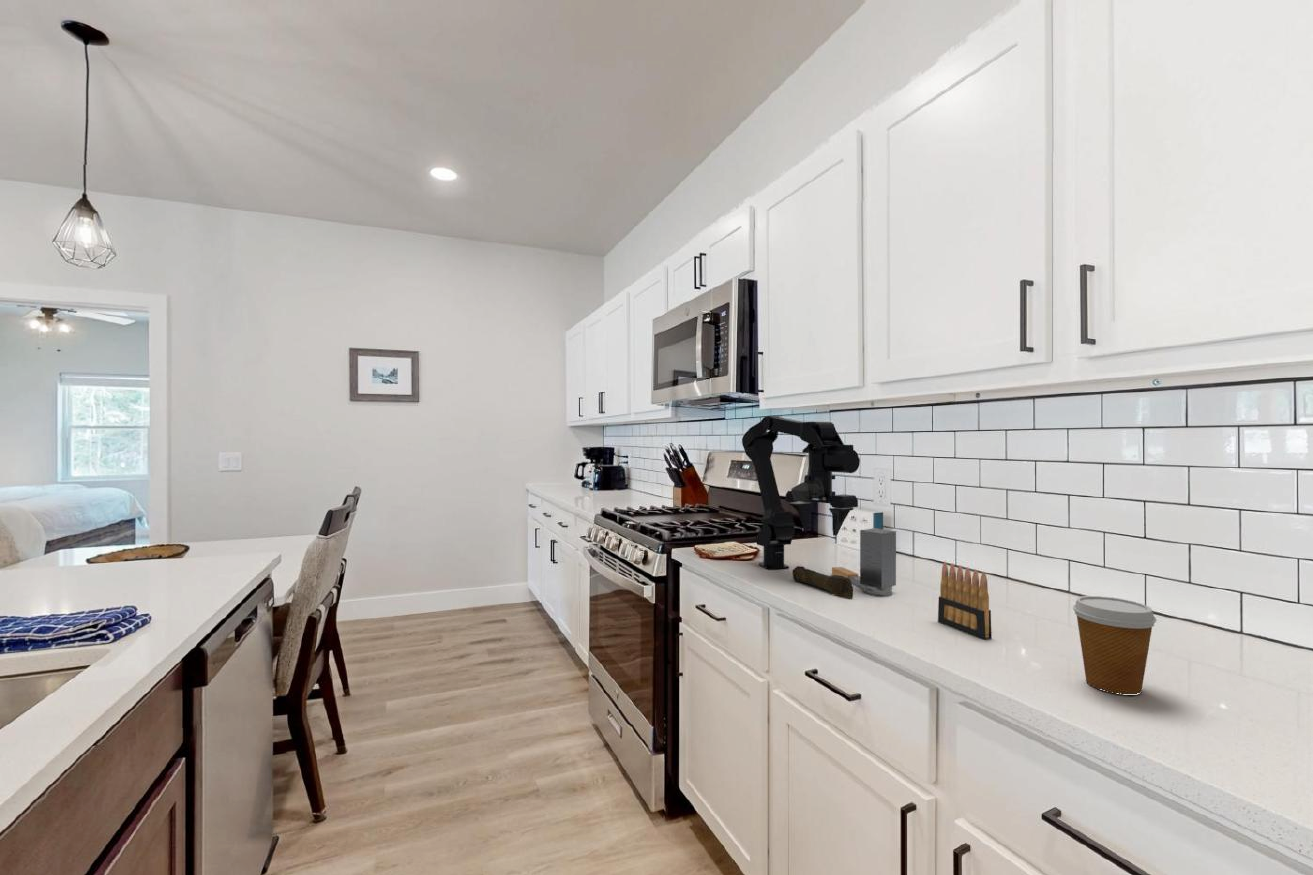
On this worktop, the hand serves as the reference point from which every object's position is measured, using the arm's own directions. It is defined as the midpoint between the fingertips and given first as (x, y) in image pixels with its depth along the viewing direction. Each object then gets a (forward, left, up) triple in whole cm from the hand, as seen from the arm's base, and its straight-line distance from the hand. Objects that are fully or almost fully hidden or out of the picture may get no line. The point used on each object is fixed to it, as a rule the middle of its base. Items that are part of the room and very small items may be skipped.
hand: (820, 533), depth 146 cm
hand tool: (+8, -3, -12) cm, 15 cm away
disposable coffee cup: (+66, +11, -12) cm, 68 cm away
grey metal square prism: (+13, +7, -10) cm, 18 cm away
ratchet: (+5, +7, -12) cm, 15 cm away
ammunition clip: (+40, +8, -12) cm, 43 cm away
